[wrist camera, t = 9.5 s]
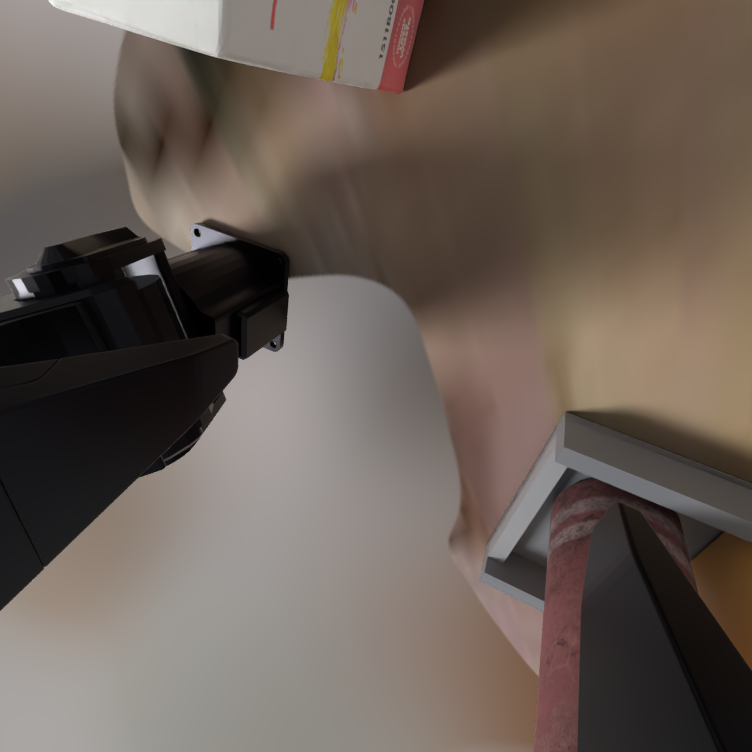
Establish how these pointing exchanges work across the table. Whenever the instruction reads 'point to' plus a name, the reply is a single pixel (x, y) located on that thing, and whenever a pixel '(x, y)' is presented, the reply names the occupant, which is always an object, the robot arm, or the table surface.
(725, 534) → the wedge
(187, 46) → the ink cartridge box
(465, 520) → the table surface
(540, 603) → the grey shallow open box
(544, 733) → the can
